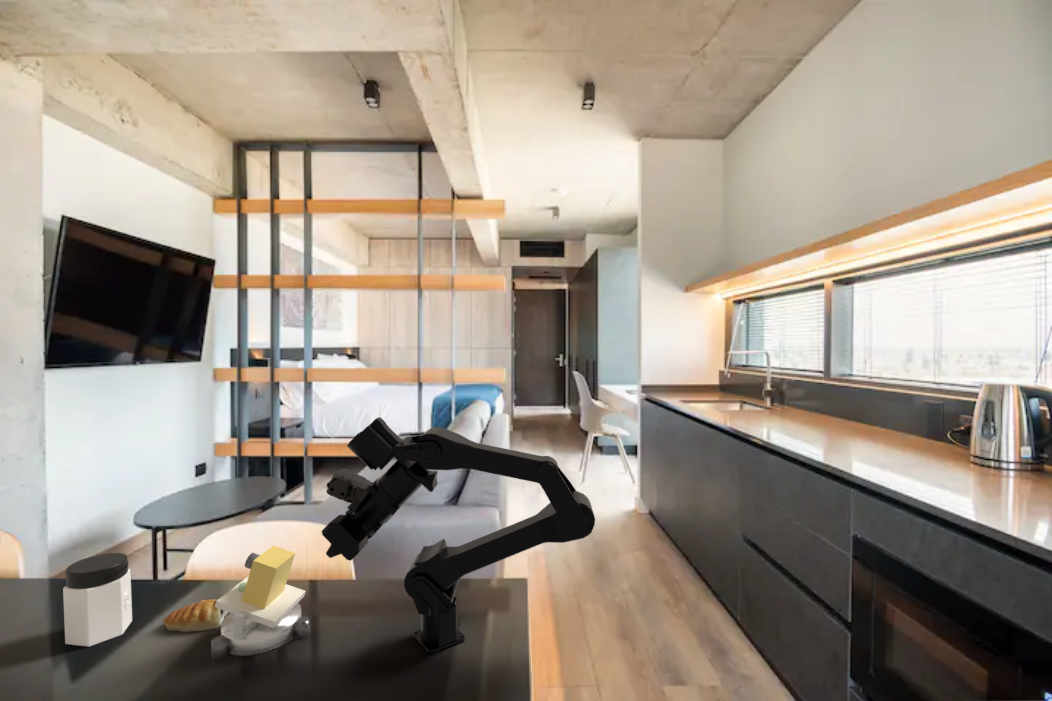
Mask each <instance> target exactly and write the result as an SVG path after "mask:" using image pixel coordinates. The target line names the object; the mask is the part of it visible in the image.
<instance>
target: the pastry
mask: <svg viewBox="0 0 1052 701" xmlns="http://www.w3.org/2000/svg"><path fill="white" fill-rule="evenodd" d="M217 600H218V599H210V598H209V599H202V600H199V601H198V602H194V603H190V604H189V605H185V606H183V607H181V608H178V609H176V610H173V611H172V612H171V613H169V615H168V616H165V618H163V625H164V627H165V628H166V629H167V630H168V631H170V632H175V631H177V632H183V633H189V632H199V631H209V630H214V629H217V628H220V626H221V623H222V621H223V619H224V618H225V617H226V616H227V615H228V613H229V612H227V611H224V610H222V609H219V608H216V607H215V604H216V601H217ZM219 625H220V626H219Z"/></svg>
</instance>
